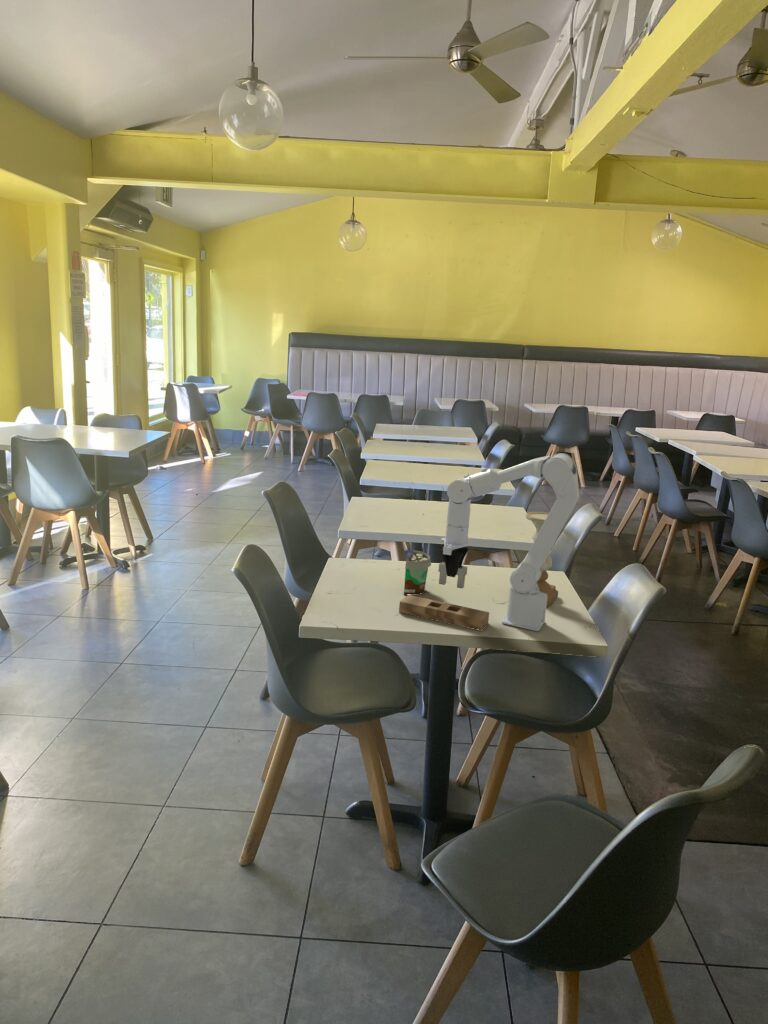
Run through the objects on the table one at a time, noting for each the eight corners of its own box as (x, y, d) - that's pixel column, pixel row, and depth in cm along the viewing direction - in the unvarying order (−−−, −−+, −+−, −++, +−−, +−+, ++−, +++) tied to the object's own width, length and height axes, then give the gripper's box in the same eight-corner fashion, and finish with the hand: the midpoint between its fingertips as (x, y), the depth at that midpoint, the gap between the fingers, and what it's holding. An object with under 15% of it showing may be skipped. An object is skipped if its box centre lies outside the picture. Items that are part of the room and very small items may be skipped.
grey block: (465, 586, 191) (467, 566, 189) (462, 589, 188) (464, 569, 187) (440, 581, 193) (442, 562, 192) (437, 584, 191) (439, 564, 190)
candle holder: (509, 598, 202) (519, 516, 197) (521, 588, 212) (531, 509, 206) (548, 607, 198) (559, 523, 192) (558, 596, 207) (569, 515, 202)
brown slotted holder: (488, 623, 183) (489, 612, 183) (481, 631, 178) (482, 619, 177) (407, 605, 192) (408, 594, 191) (398, 612, 186) (399, 601, 185)
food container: (425, 599, 197) (428, 564, 195) (402, 596, 198) (405, 561, 196) (431, 585, 209) (434, 552, 207) (410, 582, 210) (413, 549, 208)
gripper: (451, 516, 195) (447, 565, 198) (433, 527, 182) (429, 579, 185) (477, 521, 192) (472, 569, 195) (460, 532, 179) (455, 584, 182)
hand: (453, 574), depth 190 cm, fingers closed on grey block, 2 cm apart
